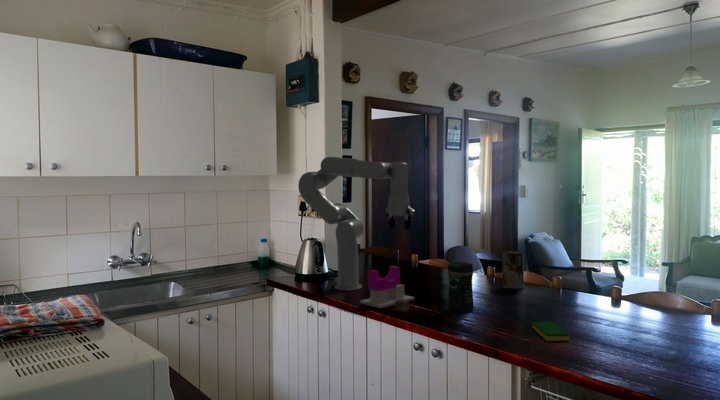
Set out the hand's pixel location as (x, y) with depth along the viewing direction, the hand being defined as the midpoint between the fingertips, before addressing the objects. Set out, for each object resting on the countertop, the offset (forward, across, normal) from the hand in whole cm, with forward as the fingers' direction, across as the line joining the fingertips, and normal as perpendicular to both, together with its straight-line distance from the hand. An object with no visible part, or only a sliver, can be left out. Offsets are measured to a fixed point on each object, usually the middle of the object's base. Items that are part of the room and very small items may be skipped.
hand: (399, 228), depth 231 cm
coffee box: (+28, +31, +42) cm, 59 cm away
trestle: (+28, +9, -17) cm, 34 cm away
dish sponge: (+29, +77, -10) cm, 83 cm away
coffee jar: (+28, +38, -6) cm, 48 cm away
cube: (+28, +23, -23) cm, 43 cm away
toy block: (+22, +9, -18) cm, 30 cm away
